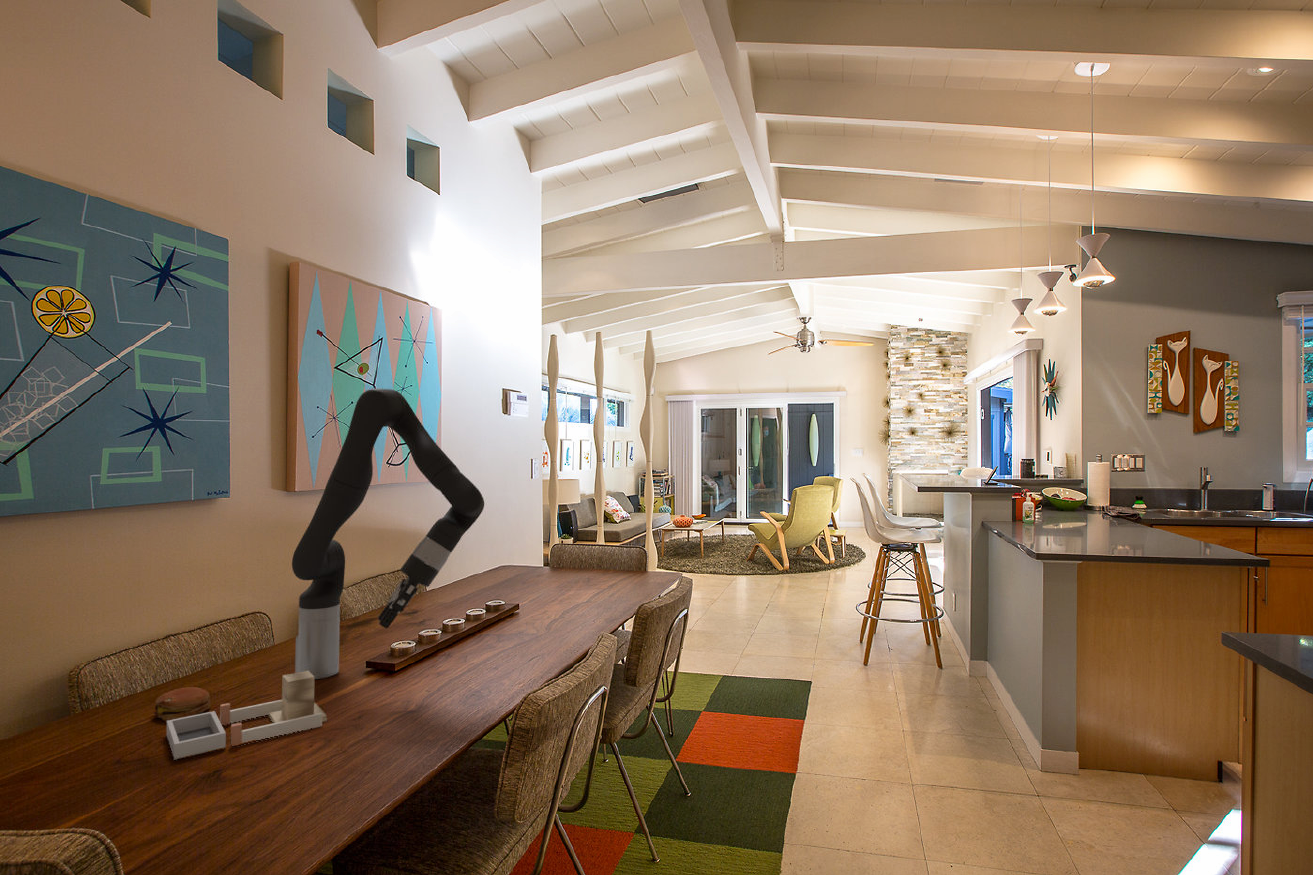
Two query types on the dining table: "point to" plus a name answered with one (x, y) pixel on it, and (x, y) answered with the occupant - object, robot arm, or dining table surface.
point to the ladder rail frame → (266, 730)
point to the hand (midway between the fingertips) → (382, 623)
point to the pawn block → (297, 698)
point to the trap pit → (195, 734)
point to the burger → (182, 703)
